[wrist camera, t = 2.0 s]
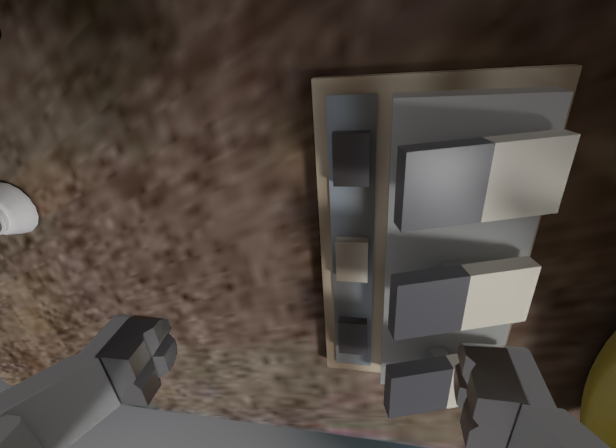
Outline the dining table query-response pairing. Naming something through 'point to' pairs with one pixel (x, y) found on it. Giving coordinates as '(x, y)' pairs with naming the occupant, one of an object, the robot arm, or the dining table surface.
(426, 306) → the rocker
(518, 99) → the switch housing
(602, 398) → the banana
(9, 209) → the white cup
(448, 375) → the rocker
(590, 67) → the dining table surface
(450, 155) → the block
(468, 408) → the robot arm
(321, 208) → the switch board
